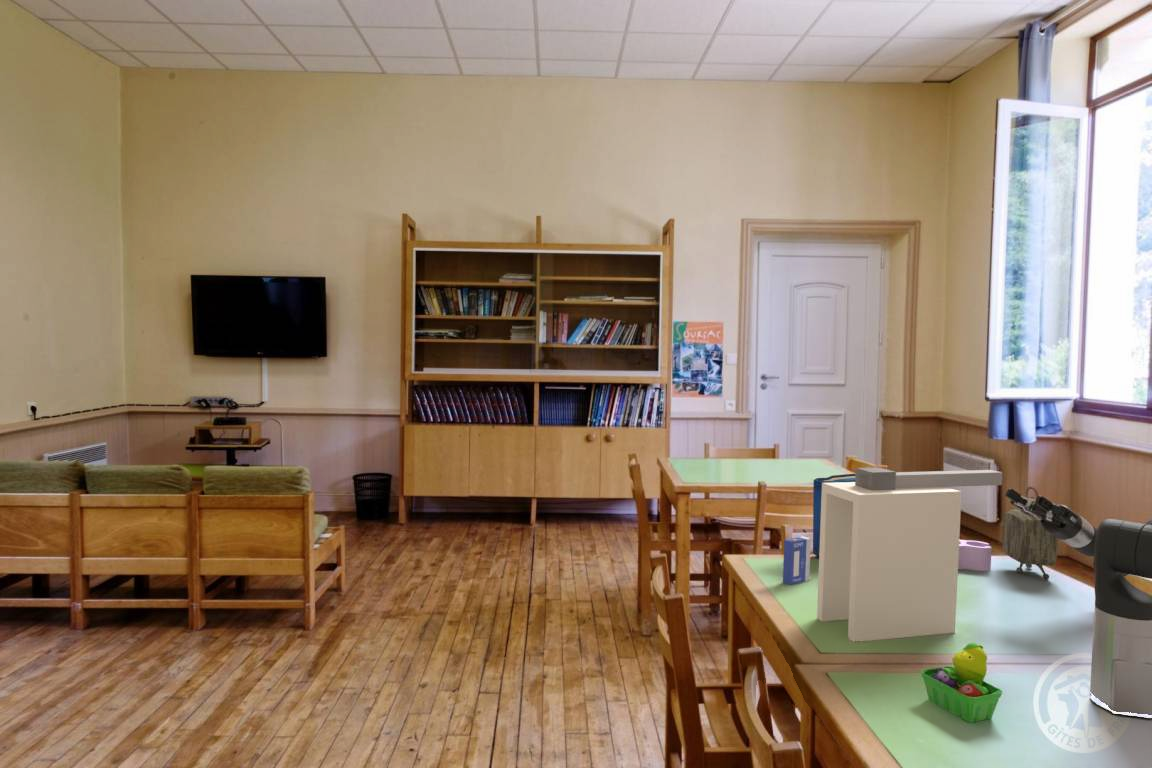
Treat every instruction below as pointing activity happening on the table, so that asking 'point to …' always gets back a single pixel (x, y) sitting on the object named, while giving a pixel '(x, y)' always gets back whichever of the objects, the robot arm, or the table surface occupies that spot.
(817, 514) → the book
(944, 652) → the table surface
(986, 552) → the pink oval container
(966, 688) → the fruit basket
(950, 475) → the grey square-ended bar
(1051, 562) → the tabletop clock
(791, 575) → the walkman
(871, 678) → the table surface
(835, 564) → the stand
